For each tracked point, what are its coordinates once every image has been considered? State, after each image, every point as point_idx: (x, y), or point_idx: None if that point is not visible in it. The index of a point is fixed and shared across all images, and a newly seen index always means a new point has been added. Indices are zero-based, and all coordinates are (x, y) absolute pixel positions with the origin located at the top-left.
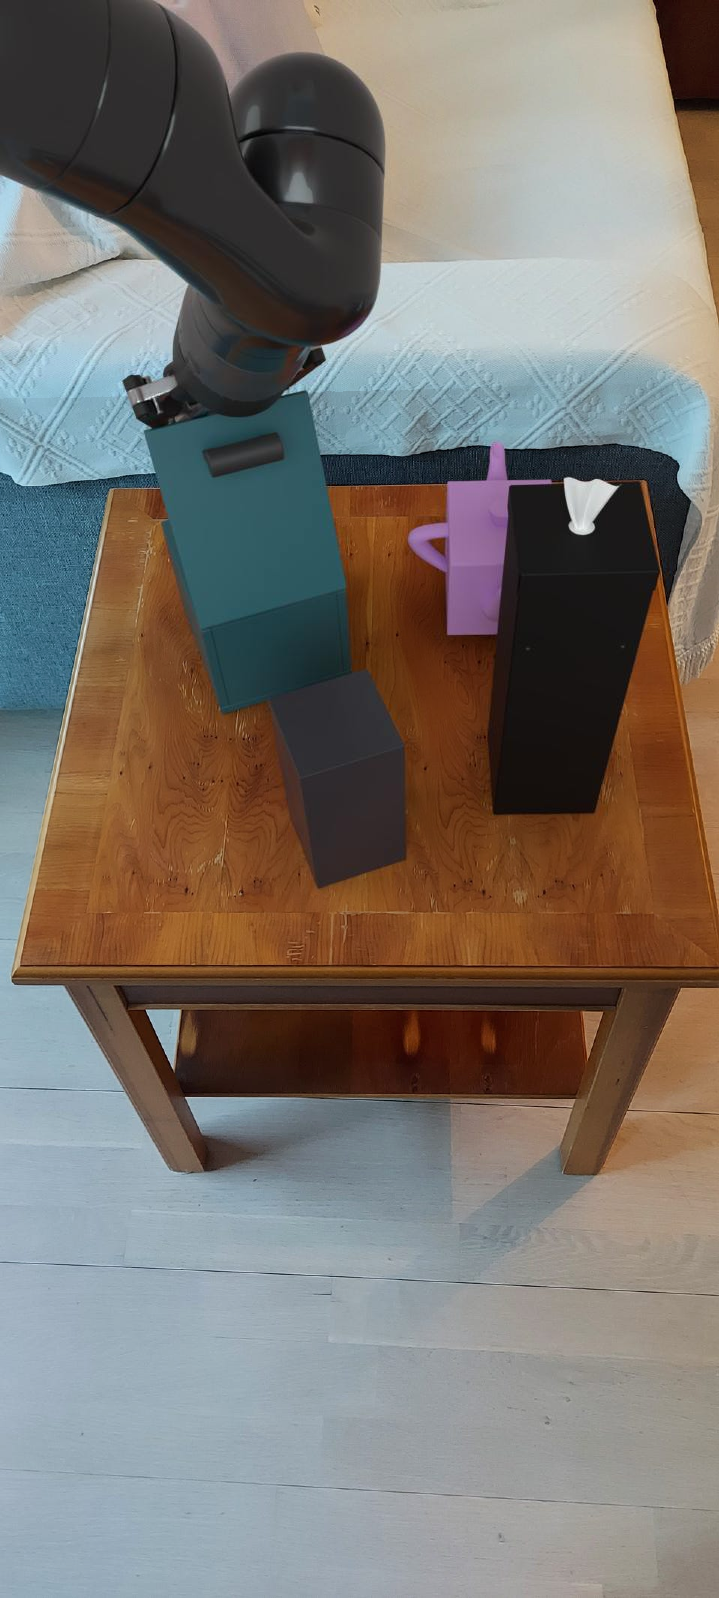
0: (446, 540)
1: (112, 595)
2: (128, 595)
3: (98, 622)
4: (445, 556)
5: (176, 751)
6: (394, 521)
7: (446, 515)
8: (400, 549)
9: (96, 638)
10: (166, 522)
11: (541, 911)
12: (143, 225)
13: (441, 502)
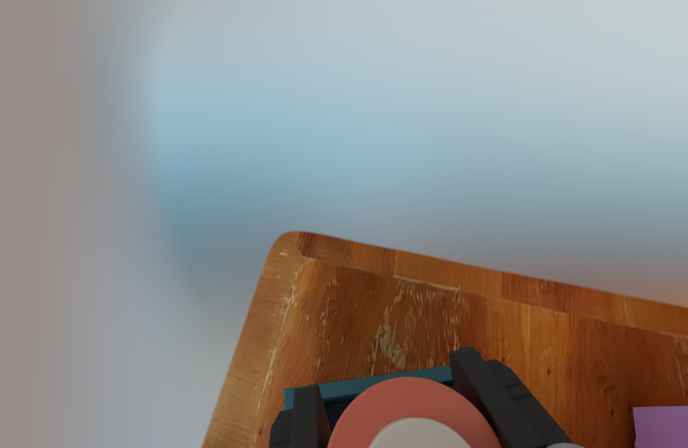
0: (672, 445)
1: (243, 356)
2: (258, 360)
3: (221, 395)
4: (640, 425)
5: None
6: (552, 317)
7: (681, 412)
8: (562, 366)
9: (213, 422)
10: (290, 394)
11: None
12: None
13: (607, 299)
